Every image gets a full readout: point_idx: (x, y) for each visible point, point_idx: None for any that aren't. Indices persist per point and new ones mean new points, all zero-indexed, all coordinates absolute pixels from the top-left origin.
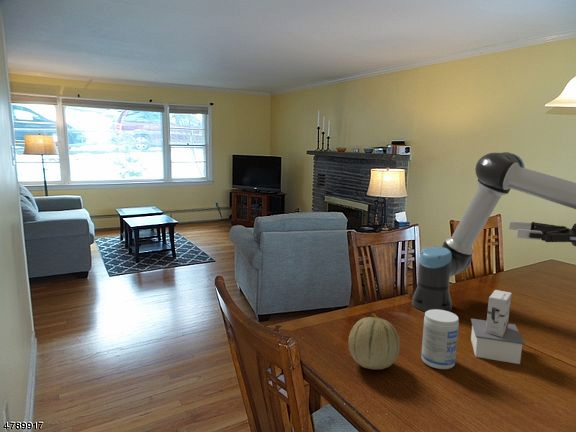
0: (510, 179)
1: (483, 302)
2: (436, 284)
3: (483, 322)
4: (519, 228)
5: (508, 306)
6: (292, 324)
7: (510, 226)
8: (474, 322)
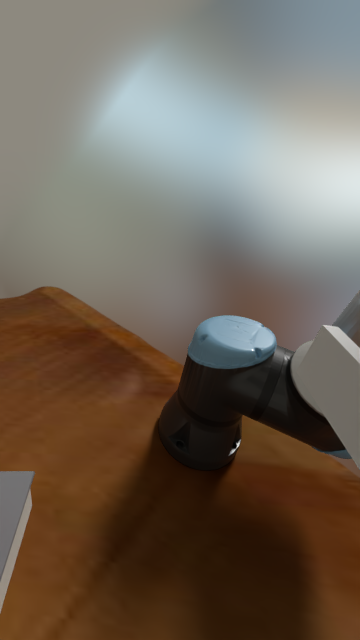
0: None
1: (309, 567)
2: (181, 390)
3: (5, 503)
4: (342, 420)
5: None
6: (58, 292)
7: (308, 359)
8: (5, 477)
